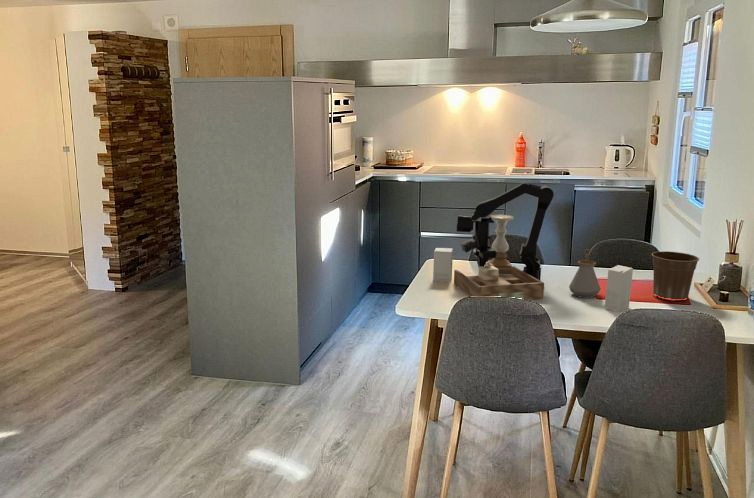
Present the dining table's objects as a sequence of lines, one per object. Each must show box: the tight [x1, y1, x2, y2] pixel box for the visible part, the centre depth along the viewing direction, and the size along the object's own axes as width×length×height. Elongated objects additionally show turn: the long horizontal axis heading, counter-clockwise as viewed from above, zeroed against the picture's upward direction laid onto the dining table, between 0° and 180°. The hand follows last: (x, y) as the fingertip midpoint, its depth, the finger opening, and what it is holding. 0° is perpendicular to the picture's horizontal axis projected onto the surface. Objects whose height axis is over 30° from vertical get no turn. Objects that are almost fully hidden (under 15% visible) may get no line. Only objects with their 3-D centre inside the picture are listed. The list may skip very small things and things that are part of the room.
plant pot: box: [651, 250, 700, 299], centre depth 250 cm, size 16×16×16 cm
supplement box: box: [432, 247, 454, 283], centre depth 274 cm, size 7×7×13 cm
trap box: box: [453, 265, 545, 300], centre depth 259 cm, size 26×26×6 cm
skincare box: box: [604, 264, 634, 313], centre depth 237 cm, size 8×6×15 cm
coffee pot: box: [568, 248, 602, 299], centre depth 258 cm, size 21×12×15 cm, turn 162°
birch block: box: [477, 266, 499, 280], centre depth 267 cm, size 6×6×4 cm
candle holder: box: [485, 214, 515, 274], centre depth 288 cm, size 11×11×24 cm
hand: (480, 270), depth 275 cm, fingers closed
